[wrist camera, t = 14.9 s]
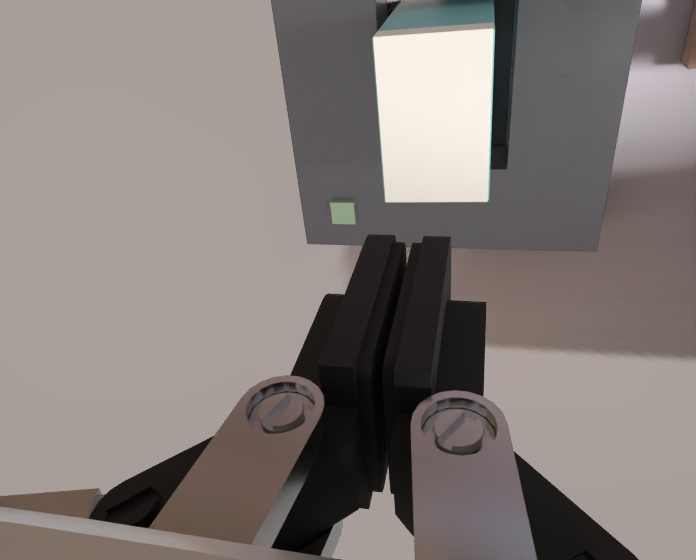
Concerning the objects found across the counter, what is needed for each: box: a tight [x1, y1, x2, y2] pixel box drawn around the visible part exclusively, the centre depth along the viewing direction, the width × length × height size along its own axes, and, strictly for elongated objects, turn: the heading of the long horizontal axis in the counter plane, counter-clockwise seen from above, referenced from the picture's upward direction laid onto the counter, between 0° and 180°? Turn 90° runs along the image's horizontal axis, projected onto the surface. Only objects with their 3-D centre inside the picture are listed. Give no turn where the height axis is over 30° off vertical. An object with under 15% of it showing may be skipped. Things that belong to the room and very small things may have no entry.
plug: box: [372, 0, 495, 202], centre depth 23 cm, size 4×6×8 cm, turn 6°
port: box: [271, 0, 642, 252], centre depth 25 cm, size 14×16×3 cm
